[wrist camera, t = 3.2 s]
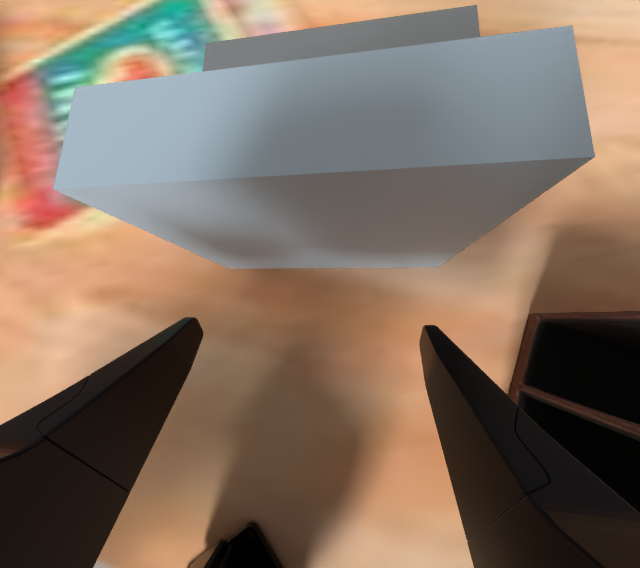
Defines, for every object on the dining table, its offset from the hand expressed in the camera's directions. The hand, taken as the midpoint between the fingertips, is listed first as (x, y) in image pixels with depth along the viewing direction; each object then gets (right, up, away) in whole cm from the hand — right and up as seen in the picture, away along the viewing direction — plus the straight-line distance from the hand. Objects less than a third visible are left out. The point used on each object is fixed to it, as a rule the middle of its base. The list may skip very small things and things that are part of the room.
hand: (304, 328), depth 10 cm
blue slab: (+1, +5, +10) cm, 11 cm away
